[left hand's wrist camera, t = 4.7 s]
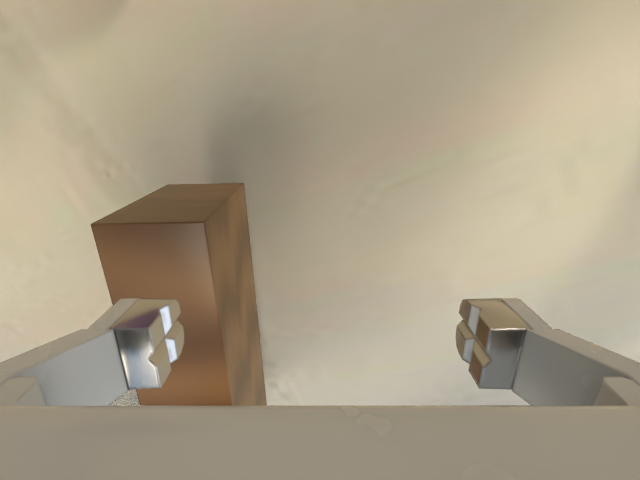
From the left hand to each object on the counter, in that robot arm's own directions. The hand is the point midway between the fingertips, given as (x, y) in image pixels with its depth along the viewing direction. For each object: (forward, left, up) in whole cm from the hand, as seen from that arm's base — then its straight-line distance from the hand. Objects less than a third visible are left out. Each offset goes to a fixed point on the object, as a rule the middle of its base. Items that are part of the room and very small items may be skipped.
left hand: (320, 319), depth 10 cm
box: (+13, -9, -19) cm, 25 cm away
